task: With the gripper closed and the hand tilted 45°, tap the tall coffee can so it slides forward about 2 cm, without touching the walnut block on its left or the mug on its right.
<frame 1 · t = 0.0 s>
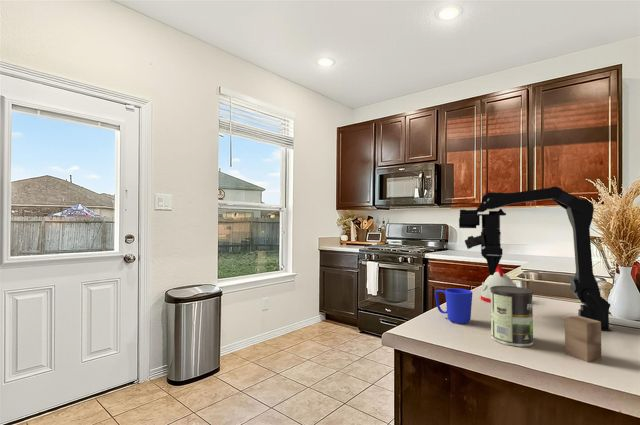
hand: (491, 273, 115), 15 cm above the countertop, tool pointing down, fingers open, 9 cm apart
mug: (453, 320, 109), on the countertop
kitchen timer: (499, 301, 136), on the countertop
walnut block: (583, 356, 80), on the countertop
coffee can: (511, 340, 91), on the countertop
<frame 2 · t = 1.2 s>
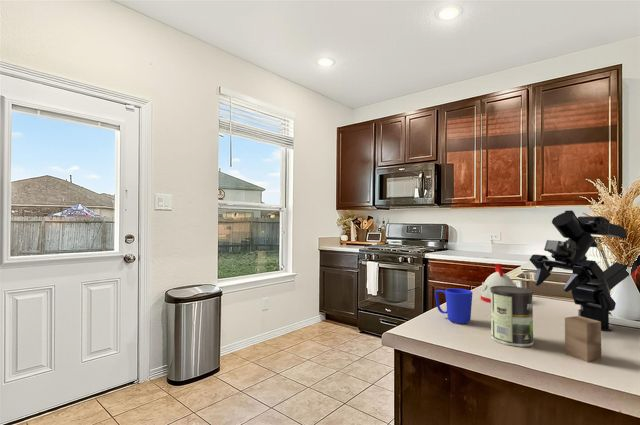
hand: (550, 287, 97), 13 cm above the countertop, tool tilted 45°, fingers open, 8 cm apart
nothing on the countertop moved.
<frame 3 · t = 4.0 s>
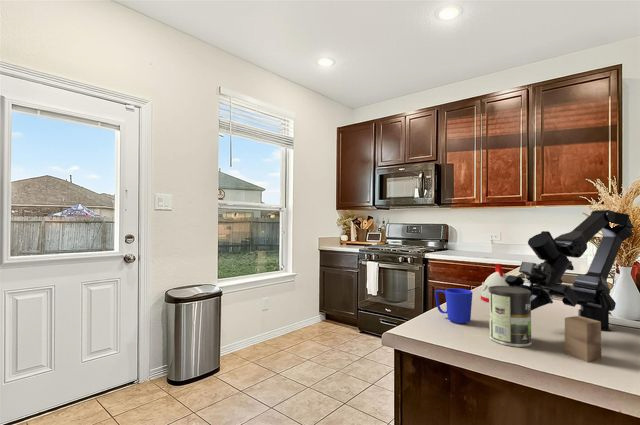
hand: (523, 311, 93), 7 cm above the countertop, tool tilted 45°, fingers closed, pressing on coffee can
coffee can: (509, 340, 91), on the countertop, touching gripper
everything else where it was.
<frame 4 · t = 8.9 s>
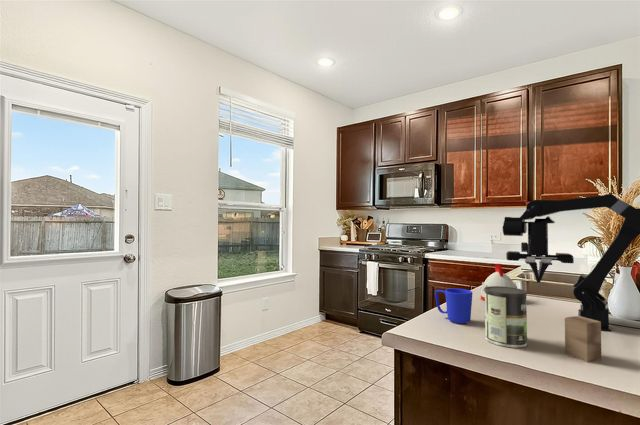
hand: (538, 282, 112), 12 cm above the countertop, tool pointing down, fingers closed
coffee can: (505, 341, 91), on the countertop
everything else where it was.
at the end: coffee can moved 2.2 cm from its start; coffee can tilted 0°; walnut block moved 0.1 cm from its start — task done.
